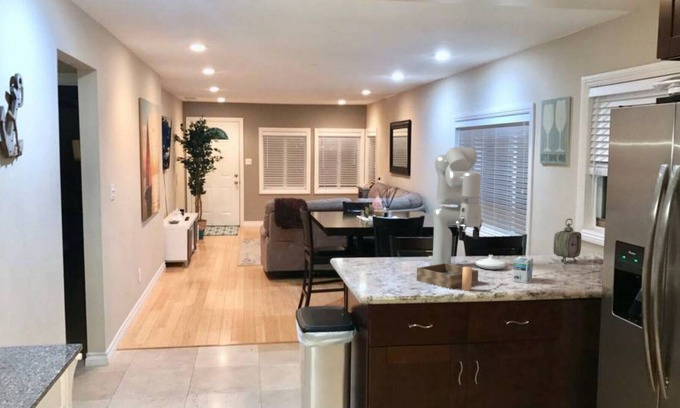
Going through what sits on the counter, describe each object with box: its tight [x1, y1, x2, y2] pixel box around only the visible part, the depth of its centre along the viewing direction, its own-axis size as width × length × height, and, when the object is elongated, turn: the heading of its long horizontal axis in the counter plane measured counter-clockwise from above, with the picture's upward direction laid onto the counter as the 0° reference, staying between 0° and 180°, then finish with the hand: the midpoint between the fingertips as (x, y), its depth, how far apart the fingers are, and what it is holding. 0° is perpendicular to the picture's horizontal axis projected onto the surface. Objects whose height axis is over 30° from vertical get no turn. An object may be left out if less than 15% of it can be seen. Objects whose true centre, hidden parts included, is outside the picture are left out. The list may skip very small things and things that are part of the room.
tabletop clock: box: [552, 217, 582, 265], centre depth 319 cm, size 14×9×25 cm, turn 129°
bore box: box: [416, 263, 479, 290], centre depth 266 cm, size 20×20×6 cm
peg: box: [461, 266, 473, 292], centre depth 251 cm, size 4×4×10 cm
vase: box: [475, 254, 507, 271], centre depth 299 cm, size 16×16×7 cm
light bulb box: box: [512, 255, 534, 284], centre depth 272 cm, size 11×7×11 cm, turn 148°
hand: (468, 239), depth 249 cm, fingers open, 9 cm apart
